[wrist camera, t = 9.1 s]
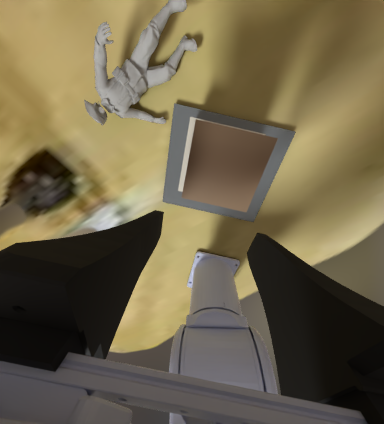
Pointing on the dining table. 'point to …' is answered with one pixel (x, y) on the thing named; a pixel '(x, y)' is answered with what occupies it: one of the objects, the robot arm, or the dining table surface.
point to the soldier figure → (135, 69)
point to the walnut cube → (225, 165)
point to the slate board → (183, 118)
